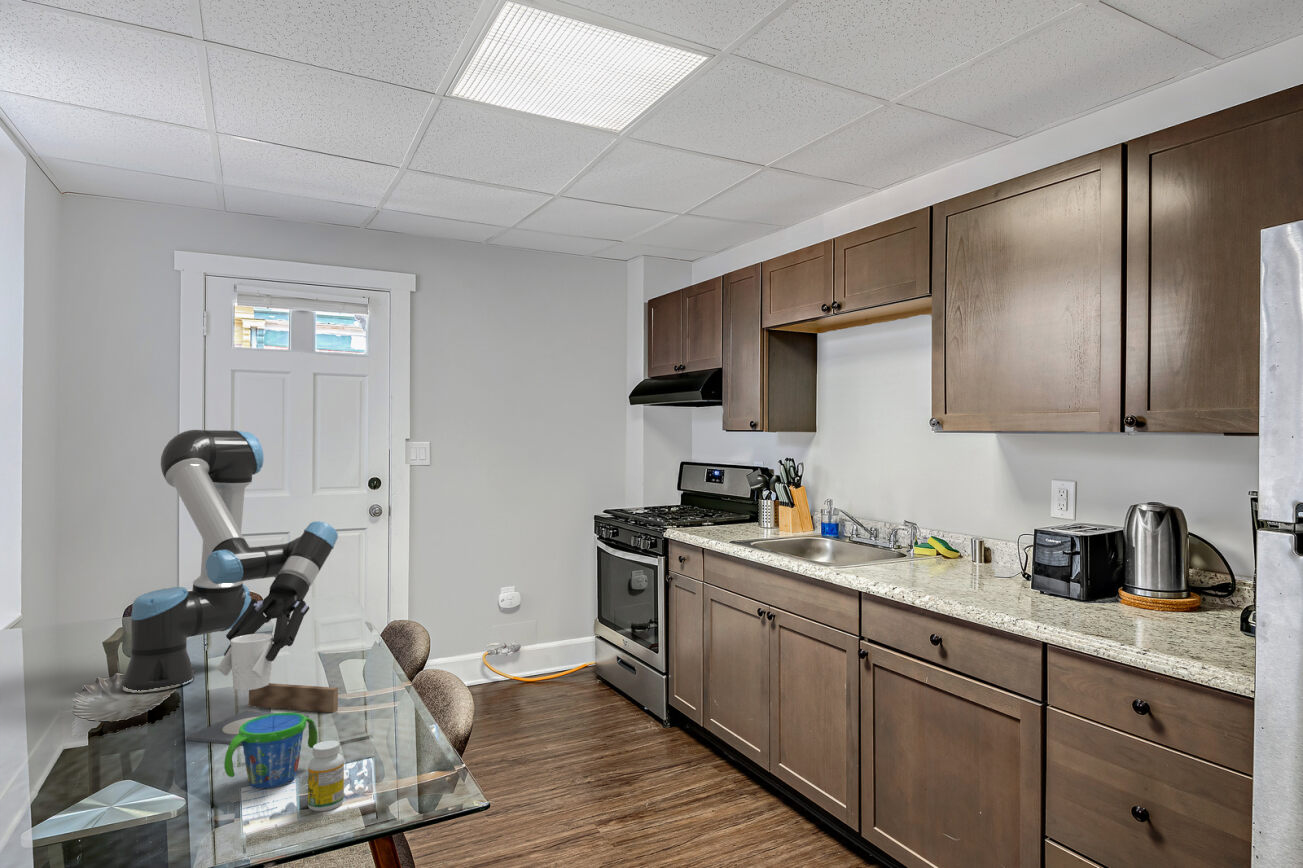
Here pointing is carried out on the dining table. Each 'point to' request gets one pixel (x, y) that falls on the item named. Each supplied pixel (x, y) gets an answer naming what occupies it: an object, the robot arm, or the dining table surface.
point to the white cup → (249, 661)
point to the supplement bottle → (325, 777)
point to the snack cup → (271, 748)
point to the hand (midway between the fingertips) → (239, 672)
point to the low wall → (295, 697)
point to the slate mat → (226, 728)
